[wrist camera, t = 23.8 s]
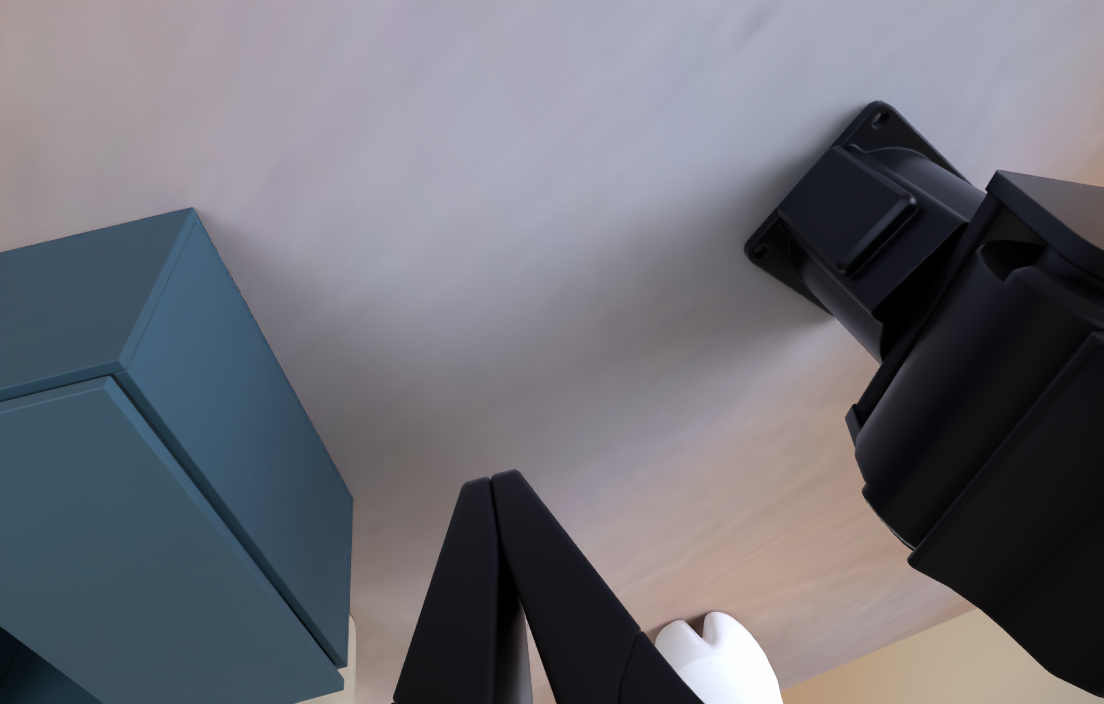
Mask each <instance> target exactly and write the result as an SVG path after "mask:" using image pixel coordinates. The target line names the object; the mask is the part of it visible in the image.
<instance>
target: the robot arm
mask: <svg viewBox="0 0 1104 704" xmlns="http://www.w3.org/2000/svg"><path fill="white" fill-rule="evenodd" d="M879 113H881V115H880V118H879V119H878V121H876V122H875V123H873V120H874V118H875V117H876V115H878V114H879ZM985 190H986V191H987V192H988V193H987V194H986V193H984V192H982V191H981V190H979V189H977V188H976V187H974V186H973V185H972V184H971V183H970V182H969V181H968V180H966V179H965V178H964V177H963V176H962V175H961V174H960V173H959V172H958V171H957V170H956V169H955V168H954V167H953V166H952V165H951V164H950V163H949V162H948V161H947V160H946V159H945V158H944V157H943V156H942V155H941V154H940V153H939V152H938V151H937V150H936V149H935V148H934V147H933V146H932V145H931V144H930V143H929V142H928V141H927V140H926V139H925V138H924V137H923V136H922V135H921V134H920V133H919V132H918V131H917V130H916V129H915V128H914V127H913V126H912V125H911V124H910V123H909V122H908V121H907V120H906V119H905V118H904V117H903V116H902V115H900V114H899V113H898V112H897V111H896V110H895V109H894V108H893V107H892V106H890V105H888V104H887V103H885V102H883V101H874V102H872V103H870V104H869V105H867V106H866V107H865V108H864V109H863V110H862V112H861V113H860V114H859V115H858V116H857V117H856V118H855V119H854V121H853V122H852V123H851V124H850V125H849V126H848V127H847V129H846V130H845V131H844V132H843V133H842V134H841V135H840V136H839V138H838V139H837V140H836V141H835V142H834V143H833V144H832V146H831V147H830V148H829V149H828V150H827V151H826V152H825V153H824V155H823V156H822V157H821V158H820V159H819V160H818V161H817V163H816V164H815V165H814V166H813V167H812V168H811V169H810V170H809V172H808V173H807V174H806V175H805V176H804V177H803V178H802V180H801V181H800V182H799V183H798V184H797V185H796V186H795V187H794V189H793V190H792V191H791V192H790V193H789V194H788V195H787V197H786V198H785V199H784V200H783V201H782V202H781V203H780V204H779V206H778V207H777V208H776V209H775V210H774V211H773V212H772V214H771V215H770V216H769V217H768V218H767V219H766V220H765V221H764V223H763V224H762V225H761V226H760V227H759V228H758V229H757V231H756V232H755V233H754V234H753V235H752V236H751V237H750V238H749V240H748V241H747V242H746V244H745V246H744V254H745V255H746V256H747V258H748V259H749V260H750V261H751V262H752V263H753V264H755V265H756V266H758V267H759V268H761V269H762V270H764V271H765V272H767V273H769V274H770V275H772V276H773V277H775V278H776V279H778V280H779V281H781V282H782V283H784V284H785V285H787V286H788V287H790V288H791V289H793V290H794V291H796V292H797V293H799V294H801V295H802V296H804V297H805V298H807V299H808V300H810V301H811V302H813V303H814V304H816V305H817V306H819V307H820V308H822V309H823V310H825V311H826V312H828V313H829V314H831V315H833V316H834V317H836V318H837V319H838V320H839V321H840V323H841V324H842V325H843V326H844V327H845V328H846V329H847V330H848V331H849V332H850V333H851V334H852V335H853V336H854V337H855V338H856V339H857V341H858V342H859V343H860V344H861V345H862V346H863V347H864V348H865V349H866V350H867V351H868V352H869V353H870V354H871V355H872V356H873V357H874V358H875V360H876V361H877V362H878V363H879V364H880V365H881V366H880V368H879V369H878V371H877V372H876V374H875V376H874V377H873V379H872V380H871V382H870V384H869V385H868V387H867V389H866V390H865V392H864V393H863V395H862V397H861V398H860V400H859V402H858V403H857V404H853V405H852V407H851V408H850V410H849V412H848V413H847V415H846V417H845V420H846V423H847V426H848V429H849V432H850V434H851V437H852V440H853V443H854V446H855V458H856V460H857V463H858V465H859V468H860V471H861V473H862V476H863V479H864V481H865V482H866V484H865V486H864V487H863V488H862V494H863V496H864V498H865V500H866V502H867V503H868V504H869V506H870V507H871V508H872V509H873V511H874V512H875V513H876V515H877V516H878V517H879V518H880V520H881V521H882V522H883V523H884V524H885V525H886V526H887V527H888V528H889V529H890V531H891V532H892V533H893V534H894V535H895V536H896V537H897V538H898V539H899V540H900V541H901V542H902V543H903V544H904V545H906V546H907V547H908V548H910V549H911V550H912V551H913V552H912V553H911V554H910V555H909V557H908V558H907V562H908V563H909V565H910V566H911V567H912V568H914V569H916V570H918V571H919V572H921V573H923V574H925V575H927V576H929V577H931V578H933V579H935V580H936V581H938V582H940V583H942V584H944V585H946V586H948V587H950V588H951V589H952V590H954V591H955V592H957V593H958V594H959V595H961V596H962V597H964V598H965V599H966V600H968V601H969V602H971V603H972V604H974V605H975V606H976V607H978V608H979V609H981V610H982V611H983V612H984V613H985V614H987V615H988V616H989V617H990V618H991V619H992V620H993V621H995V622H996V623H997V624H998V625H999V626H1000V627H1002V628H1003V629H1004V630H1005V631H1006V632H1007V633H1008V634H1009V635H1010V636H1011V637H1012V638H1013V639H1014V640H1015V641H1016V642H1017V643H1018V644H1019V645H1021V646H1022V647H1023V648H1024V649H1025V650H1026V651H1027V652H1028V653H1029V654H1030V655H1031V656H1032V657H1033V658H1034V659H1035V660H1036V661H1037V662H1038V663H1039V664H1040V665H1042V666H1043V667H1044V668H1045V669H1046V670H1047V671H1048V672H1050V673H1051V674H1053V675H1054V676H1056V677H1058V678H1060V679H1062V680H1064V681H1066V682H1068V683H1070V684H1072V685H1074V686H1077V687H1079V688H1081V689H1083V690H1085V691H1087V692H1089V693H1091V694H1093V695H1095V696H1098V697H1102V698H1104V187H1098V186H1092V185H1086V184H1080V183H1074V182H1068V181H1062V180H1056V179H1050V178H1044V177H1038V176H1032V175H1026V174H1020V173H1014V172H1009V171H1003V170H997V171H996V172H995V174H994V175H993V177H992V179H991V180H990V182H989V184H988V185H987V187H986V189H985ZM760 246H763V248H762V250H760V251H759V252H757V253H755V251H756V250H757V248H759V247H760ZM524 613H525V615H526V618H527V621H528V624H529V627H530V630H531V633H532V635H533V638H534V641H535V644H536V647H537V649H538V652H539V655H540V658H541V661H542V664H543V666H544V669H545V672H546V675H547V678H548V681H549V683H550V686H551V689H552V692H553V695H554V698H555V700H556V703H557V704H705V703H704V702H703V701H702V700H701V699H700V698H699V697H698V696H697V695H696V694H695V693H694V692H693V691H692V689H691V688H690V687H689V686H688V685H687V684H686V683H685V682H684V681H683V680H682V678H681V677H680V676H679V675H678V674H677V672H676V671H675V670H674V669H673V668H672V666H671V665H670V664H669V663H668V662H667V660H666V659H665V658H664V657H663V656H662V654H661V653H660V652H659V651H658V649H657V648H656V647H655V646H654V644H653V643H652V642H651V640H650V639H649V638H648V637H647V635H646V634H645V633H644V632H643V631H641V629H640V627H639V625H638V624H637V623H636V622H635V620H634V619H633V618H632V616H631V615H630V614H629V613H628V611H627V610H626V609H625V607H624V606H623V605H622V603H621V602H620V601H619V600H618V598H617V597H616V596H615V594H614V593H613V592H612V591H611V589H610V588H609V587H608V585H607V584H606V583H605V582H604V580H603V579H602V578H601V576H600V575H599V574H598V573H597V571H596V570H595V569H594V567H593V566H592V565H591V564H590V562H589V561H588V560H587V558H586V557H585V556H584V555H583V553H582V552H581V551H580V549H579V548H578V547H577V545H576V544H575V543H574V542H573V540H572V539H571V538H570V536H569V535H568V534H567V533H566V531H565V530H564V529H563V527H562V526H561V525H560V524H559V522H558V521H557V520H556V518H555V517H554V516H553V515H552V513H551V512H550V511H549V509H548V508H547V507H546V506H545V504H544V503H543V502H542V500H541V499H540V498H539V497H538V495H537V494H536V493H535V491H534V490H533V489H532V487H531V486H530V485H529V484H528V482H527V481H526V480H525V478H524V477H523V476H522V475H521V473H520V472H519V471H517V470H515V469H513V470H509V471H505V472H501V473H498V474H495V475H493V476H492V478H491V479H490V478H489V477H483V478H479V479H475V480H472V481H468V482H466V483H464V484H463V486H462V488H461V491H460V494H459V497H458V500H457V503H456V506H455V509H454V512H453V515H452V518H451V521H450V524H449V527H448V531H447V534H446V537H445V540H444V543H443V546H442V549H441V552H440V555H439V558H438V561H437V564H436V567H435V570H434V573H433V576H432V579H431V582H430V586H429V589H428V592H427V595H426V598H425V601H424V604H423V607H422V610H421V613H420V616H419V619H418V622H417V625H416V628H415V631H414V634H413V637H412V641H411V644H410V647H409V650H408V653H407V656H406V659H405V662H404V665H403V668H402V671H401V674H400V677H399V680H398V683H397V686H396V689H395V692H394V696H393V700H394V702H395V703H391V704H533V696H532V685H531V674H530V664H529V653H528V642H527V632H526V623H525V615H524Z"/></svg>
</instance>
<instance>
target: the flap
mask: <svg viewBox="0 0 1104 704" xmlns="http://www.w3.org/2000/svg"><path fill="white" fill-rule="evenodd" d="M0 626H1V627H2V628H4V629H5V630H6V631H8V632H9V633H10V634H12V635H13V636H14V637H16V638H17V639H18V640H20V641H21V642H22V643H24V644H25V645H26V646H28V647H29V648H30V649H32V650H33V651H34V652H36V653H37V654H38V655H40V656H41V657H42V658H44V659H45V660H46V661H48V662H49V663H50V664H52V665H53V666H54V667H56V668H57V669H58V670H60V671H61V672H62V673H64V674H65V675H66V676H68V677H69V678H70V679H72V680H73V681H74V682H76V683H77V684H78V685H80V686H81V687H82V688H84V689H85V690H86V691H88V692H89V693H90V694H92V695H93V696H94V697H96V698H97V699H98V700H100V701H101V702H102V703H104V704H295V703H299V702H302V701H306V700H310V699H313V698H317V697H321V696H324V695H328V694H332V693H335V692H339V691H342V690H344V678H343V677H342V675H341V674H340V673H339V671H338V670H337V669H336V667H335V666H334V665H333V664H332V662H331V661H330V660H329V658H328V657H327V656H326V655H325V653H324V652H323V651H322V649H321V648H320V647H319V645H318V644H317V643H316V642H315V640H314V639H313V638H312V636H311V635H310V634H309V632H308V631H307V630H306V629H305V627H304V626H303V625H302V623H301V622H300V621H299V620H298V618H297V617H296V616H295V614H294V613H293V612H292V610H291V609H290V608H289V607H288V605H287V604H286V603H285V601H284V600H283V599H282V598H281V596H280V595H279V594H278V592H277V591H276V590H275V588H274V587H273V586H272V585H271V583H270V582H269V581H268V579H267V578H266V577H265V575H264V574H263V573H262V572H261V570H260V569H259V568H258V566H257V565H256V564H255V563H254V561H253V560H252V559H251V557H250V556H249V555H248V553H247V552H246V551H245V550H244V548H243V547H242V546H241V544H240V543H239V542H238V540H237V539H236V538H235V537H234V535H233V534H232V533H231V531H230V530H229V529H228V528H227V526H226V525H225V524H224V522H223V521H222V520H221V518H220V517H219V516H218V515H217V513H216V512H215V511H214V509H213V508H212V507H211V506H210V504H209V503H208V502H207V500H206V499H205V498H204V496H203V495H202V494H201V493H200V491H199V490H198V489H197V487H196V486H195V485H194V483H193V482H192V481H191V480H190V478H189V477H188V476H187V474H186V473H185V472H184V471H183V469H182V468H181V467H180V465H179V464H178V463H177V461H176V460H175V459H174V458H173V456H172V455H171V454H170V452H169V451H168V450H167V449H166V447H165V446H164V445H163V443H162V442H161V441H160V439H159V438H158V437H157V436H156V434H155V433H154V432H153V430H152V429H151V428H150V426H149V425H148V424H147V423H146V421H145V420H144V419H143V417H142V416H141V415H140V414H139V412H138V411H137V410H136V408H135V407H134V406H133V404H132V403H131V402H130V401H129V399H128V398H127V397H126V395H125V394H124V393H123V391H122V390H121V389H120V388H119V386H118V385H117V384H116V382H115V381H114V380H113V379H112V377H111V376H106V377H102V378H98V379H93V380H89V381H85V382H81V383H77V384H73V385H69V386H65V387H61V388H57V389H53V390H49V391H44V392H40V393H36V394H32V395H28V396H24V397H20V398H16V399H12V400H8V401H4V402H0Z"/></svg>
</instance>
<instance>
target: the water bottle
mask: <svg viewBox="0 0 1104 704" xmlns="http://www.w3.org/2000/svg"><path fill="white" fill-rule="evenodd" d="M655 647H656V648H657V649H658V651H659V652H660V653H661V654H662V656H663V657H664V658H665V659H666V660H667V662H668V663H669V664H670V665H671V666H672V668H673V669H674V670H675V671H676V672H677V674H678V675H679V676H680V677H681V678H682V680H683V681H684V682H685V683H686V684H687V685H688V686H689V687H690V688H691V689H692V691H693V692H694V693H695V694H696V695H697V696H698V697H699V698H700V699H701V700H702V701H703V702H704V703H705V704H783V702H782V699H781V695H780V690H779V686H778V681H777V678H776V676H775V674H774V672H773V670H772V668H771V666H770V664H769V662H768V659H767V657H766V655H765V654H764V652H763V651H762V649H761V648H760V646H759V645H758V643H757V642H756V641H755V639H754V638H753V637H752V636H751V634H750V633H749V632H748V631H747V630H746V629H745V628H744V627H743V626H742V625H741V624H740V623H738V622H737V621H736V620H735V619H733V618H732V617H730V616H729V615H727V614H725V613H721V612H710V613H709V614H708V615H707V616H706V617H705V620H704V627H703V633H702V638H700V637H699V636H698V635H697V634H696V632H695V631H694V630H693V629H692V628H691V627H690V626H689V625H688V624H687V623H686V622H685V621H684V620H682V619H681V620H677V621H673V622H672V623H670V624H668V625H667V626H665V627H664V628H663V629H662V630H661V631H660V633H659V634H658V636H657V638H656V642H655Z"/></svg>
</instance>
